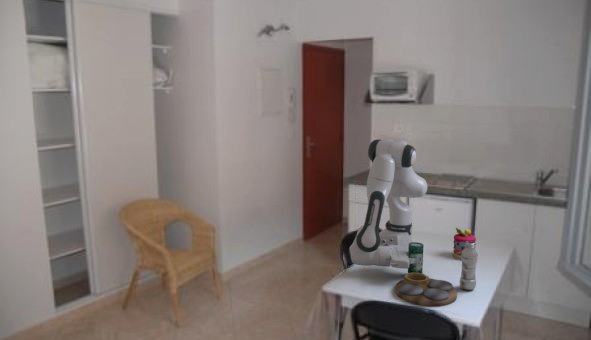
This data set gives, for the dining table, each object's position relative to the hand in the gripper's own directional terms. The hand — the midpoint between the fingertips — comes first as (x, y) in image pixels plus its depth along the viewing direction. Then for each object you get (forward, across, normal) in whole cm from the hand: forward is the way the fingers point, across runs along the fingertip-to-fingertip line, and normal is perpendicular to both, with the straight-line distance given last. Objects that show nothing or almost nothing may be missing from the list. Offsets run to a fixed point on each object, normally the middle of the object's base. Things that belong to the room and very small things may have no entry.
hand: (417, 257), depth 208 cm
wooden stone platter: (+1, -18, +9) cm, 20 cm away
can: (-1, 0, +9) cm, 9 cm away
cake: (+26, +28, +9) cm, 40 cm away
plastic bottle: (+19, -11, +9) cm, 24 cm away
